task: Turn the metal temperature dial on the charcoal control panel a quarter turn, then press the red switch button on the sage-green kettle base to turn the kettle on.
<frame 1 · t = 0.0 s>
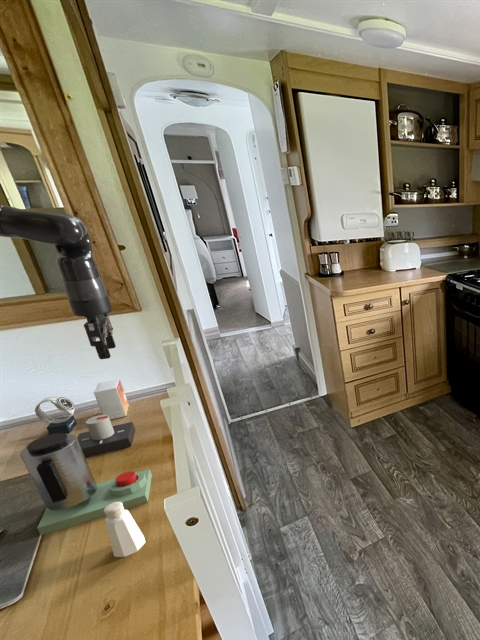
hand: (108, 353, 103), 27 cm above the table, tool pointing down, fingers open, 8 cm apart
salt shaker: (130, 547, 78), on the table
watch: (64, 430, 116), on the table
small box: (117, 413, 125), on the table
temp dial: (100, 426, 108), point 6 cm above the table, hinge at 0.0°
kettle base: (102, 502, 89), on the table
dial panel: (106, 444, 110), on the table
kettle switch: (126, 479, 90), point 4 cm above the table, slide at 0.1 cm
kettle: (72, 496, 86), resting on kettle base
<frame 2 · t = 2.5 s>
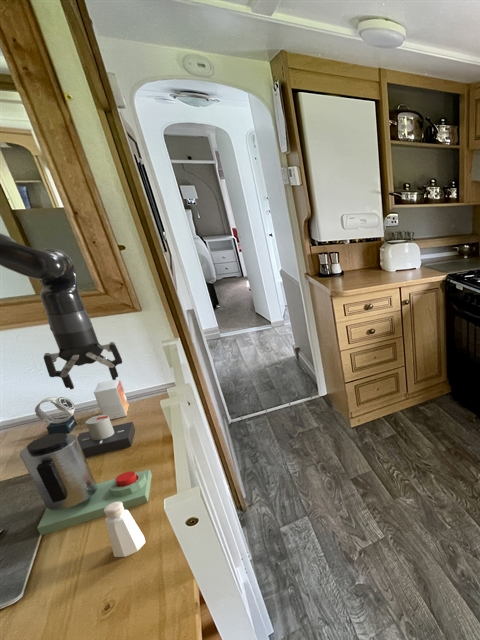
hand: (93, 383, 104), 19 cm above the table, tool pointing down, fingers open, 8 cm apart
nothing on the table moved.
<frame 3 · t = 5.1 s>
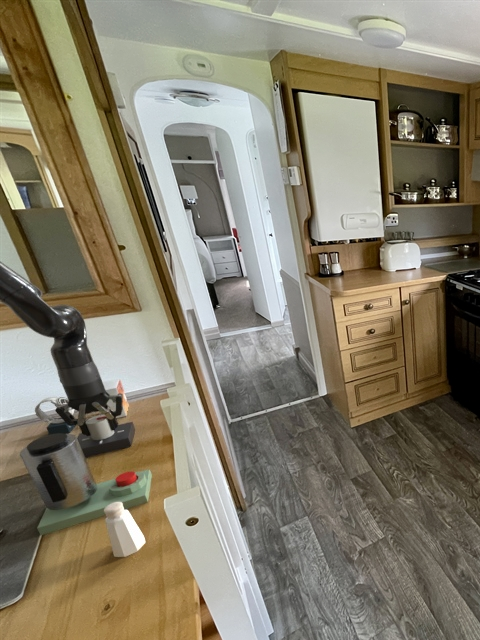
hand: (101, 431, 108), 4 cm above the table, tool pointing down, fingers closed on temp dial, 5 cm apart
temp dial: (100, 426, 108), point 6 cm above the table, hinge at 0.0°, touching gripper
everything else where it was.
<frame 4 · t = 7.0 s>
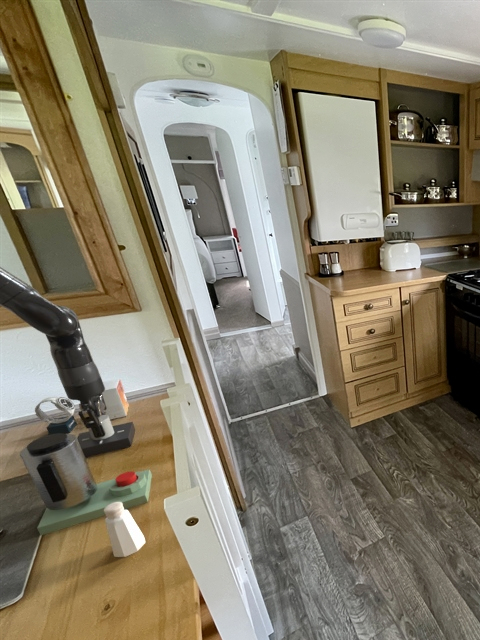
hand: (102, 431, 108), 4 cm above the table, tool pointing down, fingers closed on temp dial, 5 cm apart
temp dial: (100, 426, 108), point 6 cm above the table, hinge at 91.4°, touching gripper
everything else where it was.
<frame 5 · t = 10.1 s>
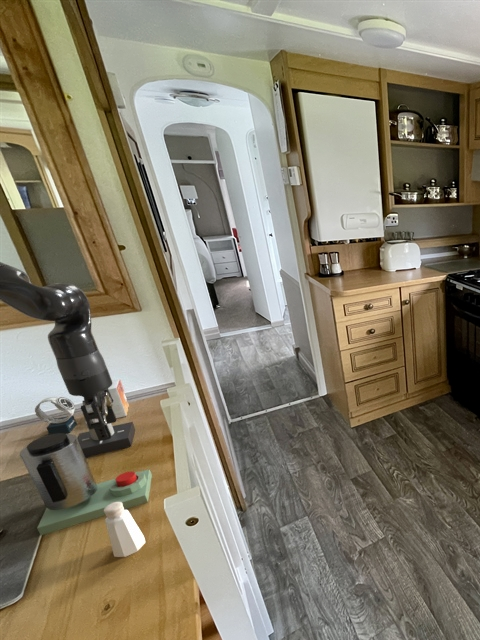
hand: (108, 430, 92), 14 cm above the table, tool pointing down, fingers open, 8 cm apart
temp dial: (100, 426, 108), point 6 cm above the table, hinge at 91.1°
everything else where it was.
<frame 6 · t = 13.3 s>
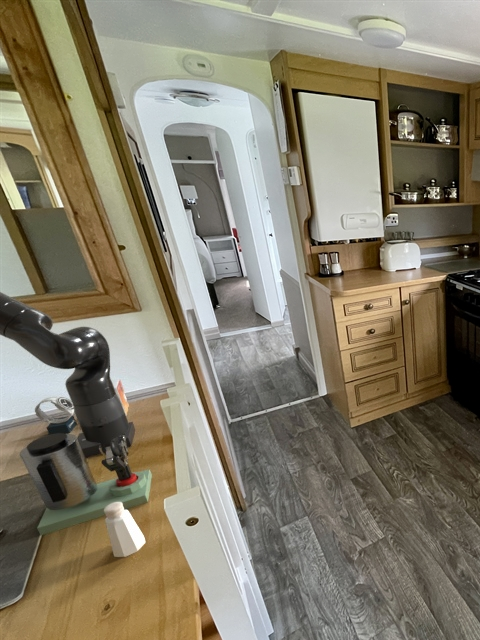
hand: (126, 477, 90), 5 cm above the table, tool pointing down, fingers closed
kettle switch: (127, 480, 91), point 4 cm above the table, slide at -0.4 cm, touching gripper
everything else where it was.
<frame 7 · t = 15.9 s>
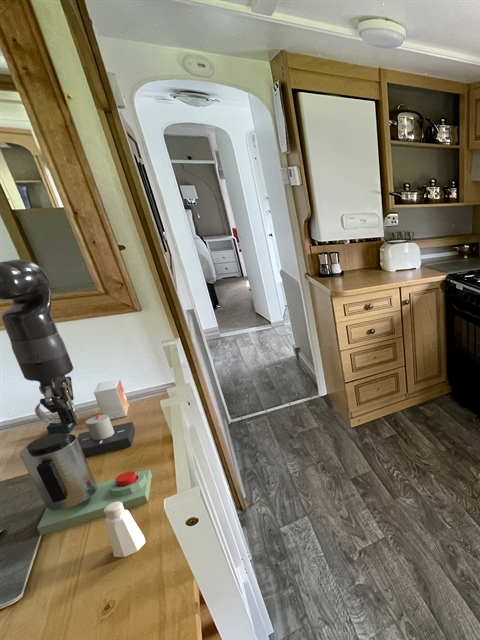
hand: (69, 422, 88), 18 cm above the table, tool pointing down, fingers closed
kettle switch: (126, 479, 90), point 4 cm above the table, slide at 0.1 cm
everything else where it was.
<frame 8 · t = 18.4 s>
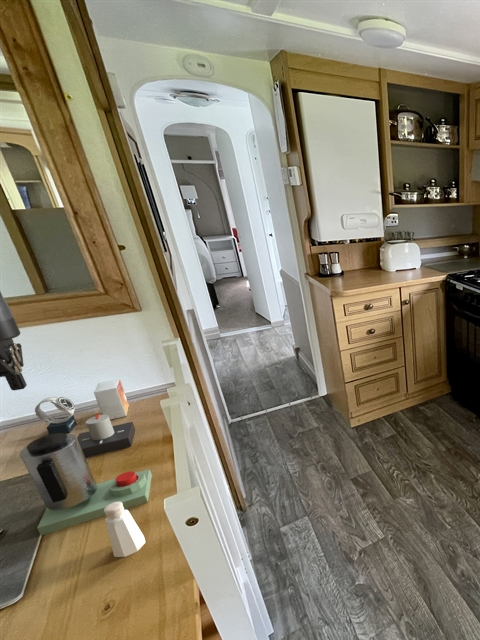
hand: (19, 388, 89), 25 cm above the table, tool pointing down, fingers closed
nothing on the table moved.
at the end: temp dial at +91° (first picture: +0°); kettle switch pushed in 1.0 cm at the most during the clip, back to where it started at the end; kettle switch slide at 0.1 cm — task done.
